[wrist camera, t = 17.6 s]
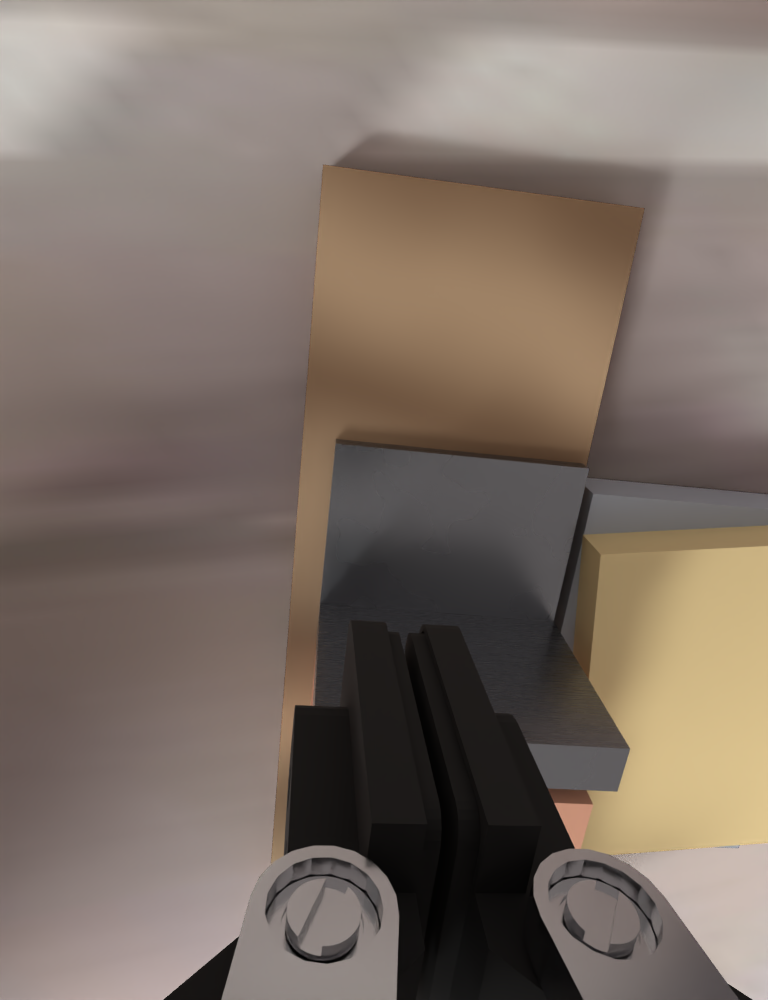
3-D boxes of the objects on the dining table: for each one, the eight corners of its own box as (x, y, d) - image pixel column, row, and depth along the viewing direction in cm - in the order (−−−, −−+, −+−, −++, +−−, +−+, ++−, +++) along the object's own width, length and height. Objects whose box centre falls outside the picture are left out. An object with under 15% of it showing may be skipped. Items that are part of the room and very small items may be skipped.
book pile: (725, 813, 25) (773, 882, 23) (500, 805, 25) (521, 875, 22) (840, 500, 21) (918, 537, 18) (573, 476, 20) (611, 511, 17)
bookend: (540, 646, 21) (617, 791, 15) (317, 630, 20) (308, 777, 14) (582, 463, 19) (689, 551, 13) (335, 438, 18) (334, 520, 12)
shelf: (461, 947, 27) (563, 1509, 15) (266, 943, 26) (203, 1535, 14) (620, 212, 18) (1241, 104, 6) (324, 172, 17) (288, -57, 5)
